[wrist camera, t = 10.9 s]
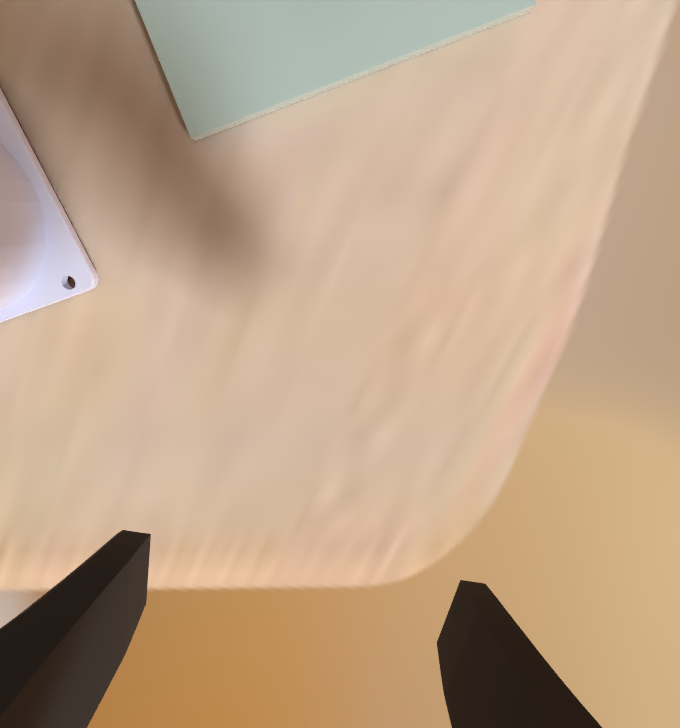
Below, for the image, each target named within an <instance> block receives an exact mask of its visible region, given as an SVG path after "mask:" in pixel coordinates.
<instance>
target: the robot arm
mask: <svg viewBox="0 0 680 728" xmlns="http://www.w3.org/2000/svg"><path fill="white" fill-rule="evenodd" d="M68 276H70V277H72V278H73V279H74V280H75V283H76V285H75V288H73V287H71V286H70V285H69V284H68V280H67V279H68ZM97 284H98V275H97V272H96V271H95V269H94V267H93V265H92V263H91V261H90V259H89V257H88V255H87V253H86V251H85V249H84V248H83V246H82V244H81V242H80V240H79V238H78V236H77V234H76V232H75V230H74V228H73V226H72V225H71V223H70V221H69V219H68V217H67V215H66V213H65V211H64V209H63V207H62V205H61V203H60V202H59V200H58V198H57V196H56V194H55V192H54V190H53V188H52V186H51V184H50V182H49V180H48V179H47V177H46V175H45V173H44V171H43V169H42V167H41V165H40V163H39V161H38V159H37V157H36V155H35V154H34V152H33V150H32V148H31V146H30V144H29V142H28V140H27V138H26V136H25V134H24V132H23V131H22V129H21V127H20V125H19V123H18V121H17V119H16V117H15V115H14V113H13V111H12V109H11V108H10V106H9V104H8V102H7V100H6V98H5V96H4V94H3V92H2V90H1V88H0V322H3V321H6V320H9V319H11V318H14V317H17V316H20V315H22V314H25V313H28V312H31V311H33V310H36V309H39V308H42V307H45V306H47V305H50V304H53V303H56V302H58V301H61V300H64V299H67V298H70V297H72V296H75V295H78V294H81V293H83V292H86V291H89V290H92V289H93V288H95V287H96V285H97ZM150 537H151V534H146V533H139V532H132V531H126V530H122V531H121V532H119V533H118V534H116V535H115V536H114V537H113V538H112V539H111V540H109V541H108V542H107V543H106V544H105V545H104V546H102V547H101V548H100V549H99V550H98V551H97V552H95V553H94V554H93V555H92V556H91V557H90V558H88V559H87V560H86V561H85V562H84V563H82V564H81V565H80V566H79V567H78V568H76V569H75V570H74V571H73V572H72V573H70V574H69V575H68V576H67V577H66V578H64V579H63V580H62V581H61V582H60V583H58V584H57V585H56V586H55V587H53V588H52V589H51V590H50V591H48V592H47V593H46V594H45V595H43V596H42V597H41V598H40V599H38V600H37V601H36V602H34V603H33V604H32V605H31V606H30V607H28V608H27V609H26V610H24V611H23V612H22V613H21V614H19V615H18V616H17V617H15V618H14V619H13V620H11V621H10V622H9V623H7V624H6V625H4V626H3V627H2V628H0V728H87V726H88V724H89V722H90V720H91V719H92V717H93V715H94V713H95V711H96V709H97V707H98V705H99V704H100V702H101V700H102V698H103V696H104V694H105V692H106V690H107V688H108V686H109V684H110V683H111V680H112V679H113V677H114V675H115V673H116V671H117V669H118V667H119V665H120V663H121V661H122V659H123V657H124V656H125V653H126V651H127V649H128V646H129V644H130V642H131V639H132V636H133V634H134V632H135V630H136V627H137V625H138V622H139V619H140V617H141V615H142V612H143V610H144V607H145V605H146V597H147V582H148V567H149V552H150ZM437 647H438V655H439V663H440V670H441V677H442V684H443V690H444V696H445V700H446V705H447V709H448V713H449V717H450V721H451V725H452V728H602V727H601V726H600V725H599V724H598V722H597V721H596V720H595V719H594V718H593V717H592V715H591V714H590V713H589V712H588V711H587V710H586V709H585V707H584V706H583V705H582V704H581V703H580V702H579V700H578V699H577V698H576V697H575V696H574V695H573V693H572V692H571V691H570V690H569V689H568V687H567V686H566V685H565V684H564V682H563V681H562V680H561V679H560V678H559V677H558V675H557V674H556V673H555V671H554V670H553V669H552V668H551V667H550V665H549V664H548V663H547V662H546V660H545V659H544V658H543V657H542V655H541V654H540V653H539V652H538V650H537V649H536V648H535V647H534V645H533V644H532V643H531V641H530V640H529V639H528V638H527V636H526V635H525V634H524V632H523V631H522V630H521V629H520V627H519V626H518V625H517V624H516V622H515V621H514V620H513V618H512V617H511V616H510V614H509V613H508V612H507V611H506V609H505V608H504V607H503V605H502V604H501V603H500V602H499V600H498V599H497V598H496V596H495V595H494V594H493V593H492V591H491V590H490V589H489V588H488V587H487V585H486V584H483V583H477V582H470V581H462V580H460V583H459V586H458V588H457V591H456V593H455V596H454V599H453V602H452V604H451V607H450V609H449V612H448V615H447V617H446V620H445V623H444V625H443V628H442V631H441V633H440V636H439V638H438V641H437Z"/></svg>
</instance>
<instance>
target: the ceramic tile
mask: <svg viewBox="0 0 680 728" xmlns="http://www.w3.org/2000/svg"><path fill="white" fill-rule="evenodd" d="M135 2H136V5H137V7H138V10H139V12H140V15H141V17H142V19H143V22H144V24H145V27H146V29H147V32H148V34H149V37H150V39H151V42H152V44H153V47H154V49H155V52H156V54H157V56H158V59H159V61H160V64H161V66H162V69H163V71H164V74H165V76H166V79H167V81H168V84H169V86H170V88H171V91H172V93H173V96H174V98H175V101H176V103H177V106H178V108H179V111H180V113H181V116H182V118H183V121H184V123H185V125H186V128H187V130H188V133H189V135H190V138H191V139H193V140H195V141H198V140H200V139H203V138H206V137H208V136H211V135H213V134H216V133H218V132H221V131H224V130H226V129H229V128H231V127H234V126H237V125H239V124H242V123H244V122H247V121H249V120H252V119H255V118H257V117H260V116H262V115H265V114H267V113H270V112H273V111H275V110H278V109H280V108H283V107H286V106H288V105H291V104H293V103H296V102H298V101H301V100H304V99H306V98H309V97H311V96H314V95H317V94H319V93H322V92H324V91H327V90H329V89H332V88H335V87H337V86H340V85H342V84H345V83H347V82H350V81H353V80H355V79H358V78H360V77H363V76H366V75H368V74H371V73H373V72H376V71H378V70H381V69H384V68H386V67H389V66H391V65H394V64H397V63H399V62H402V61H404V60H407V59H409V58H412V57H415V56H417V55H420V54H422V53H425V52H428V51H430V50H433V49H435V48H438V47H440V46H443V45H446V44H448V43H451V42H453V41H456V40H458V39H461V38H464V37H466V36H469V35H471V34H474V33H477V32H479V31H482V30H484V29H487V28H489V27H492V26H495V25H497V24H500V23H502V22H505V21H508V20H510V19H513V18H515V17H518V16H520V15H523V14H526V13H528V12H529V11H530V10H531V9H532V8H533V7H534V6H535V5H536V0H135Z"/></svg>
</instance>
